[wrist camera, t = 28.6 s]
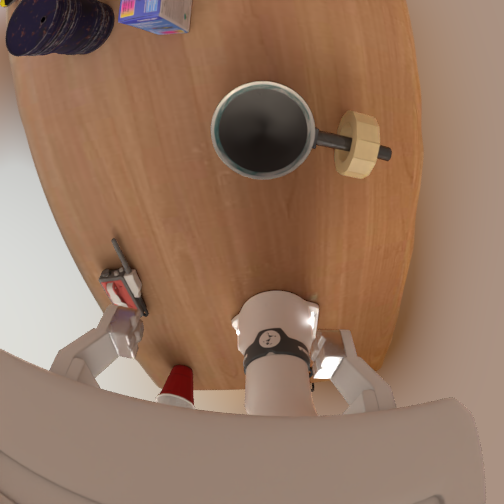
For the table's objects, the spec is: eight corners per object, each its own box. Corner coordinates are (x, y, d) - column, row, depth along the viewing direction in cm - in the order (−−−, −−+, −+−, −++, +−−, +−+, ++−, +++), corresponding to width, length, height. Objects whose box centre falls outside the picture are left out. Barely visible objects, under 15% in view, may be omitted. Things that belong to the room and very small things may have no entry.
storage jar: (59, 52, 28) (-3, 57, 16) (78, 2, 23) (20, -10, 11) (102, 58, 30) (41, 58, 18) (124, 3, 25) (70, -18, 13)
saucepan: (218, 153, 40) (207, 174, 32) (225, 78, 34) (215, 76, 25) (357, 174, 41) (381, 199, 33) (373, 105, 35) (403, 113, 26)
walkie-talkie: (158, 310, 59) (120, 233, 48) (152, 325, 55) (110, 246, 44) (126, 312, 60) (86, 241, 49) (120, 326, 56) (76, 253, 45)
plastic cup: (175, 354, 68) (166, 393, 58) (208, 371, 72) (203, 408, 62) (157, 367, 73) (148, 402, 63) (187, 382, 77) (181, 417, 67)
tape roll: (349, 168, 38) (370, 186, 31) (330, 165, 38) (347, 182, 30) (360, 113, 33) (385, 119, 26) (340, 109, 33) (361, 112, 26)
